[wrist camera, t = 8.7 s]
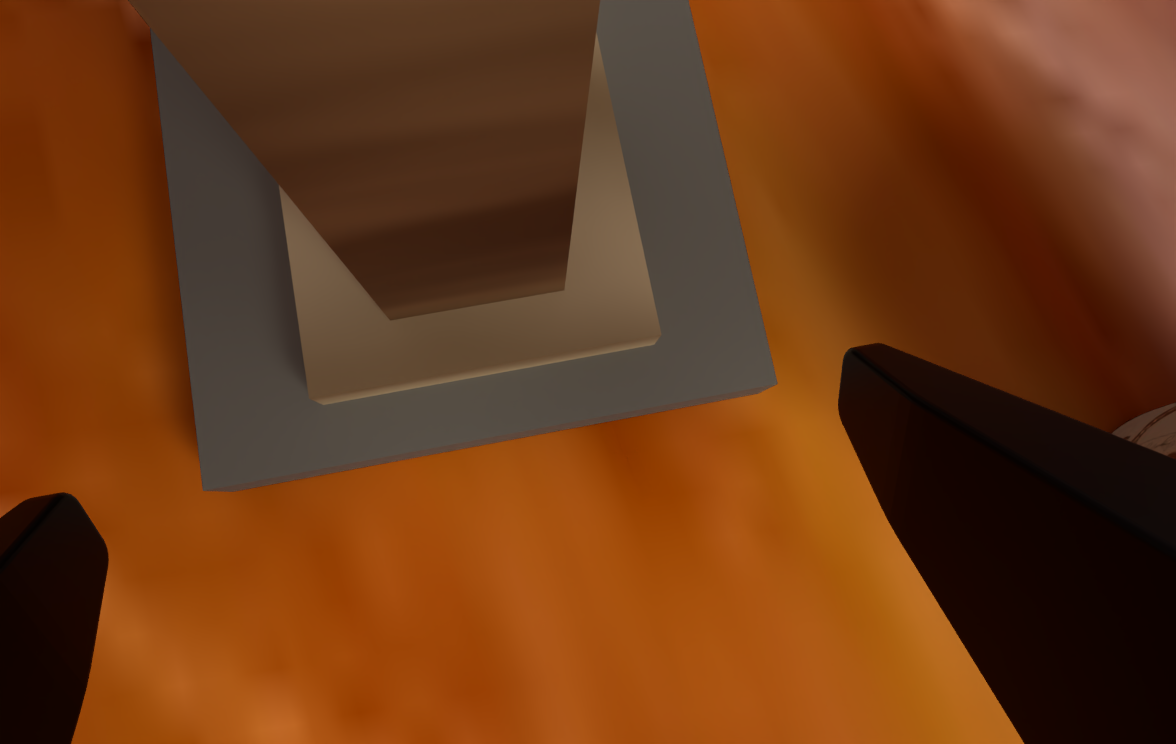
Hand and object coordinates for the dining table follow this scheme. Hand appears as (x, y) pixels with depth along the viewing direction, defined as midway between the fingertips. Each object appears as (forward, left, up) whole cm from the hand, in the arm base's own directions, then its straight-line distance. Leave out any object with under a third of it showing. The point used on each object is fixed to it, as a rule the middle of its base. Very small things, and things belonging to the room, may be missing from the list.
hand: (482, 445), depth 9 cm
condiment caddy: (+7, +3, -7) cm, 10 cm away
